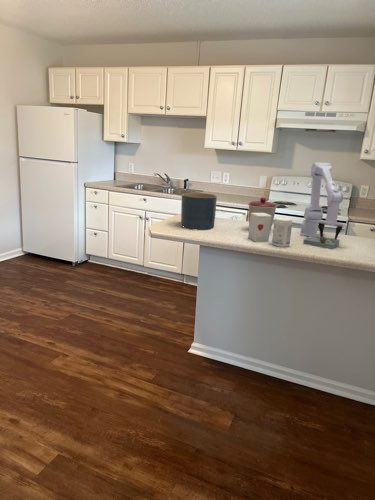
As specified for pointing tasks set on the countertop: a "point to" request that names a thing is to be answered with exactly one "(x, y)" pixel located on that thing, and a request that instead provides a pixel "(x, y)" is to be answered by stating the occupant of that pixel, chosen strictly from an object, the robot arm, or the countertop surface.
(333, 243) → the grey board with rails
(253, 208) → the canister
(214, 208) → the planter
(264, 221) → the supplement box
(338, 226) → the robot arm
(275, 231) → the supplement tub
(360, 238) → the countertop surface
